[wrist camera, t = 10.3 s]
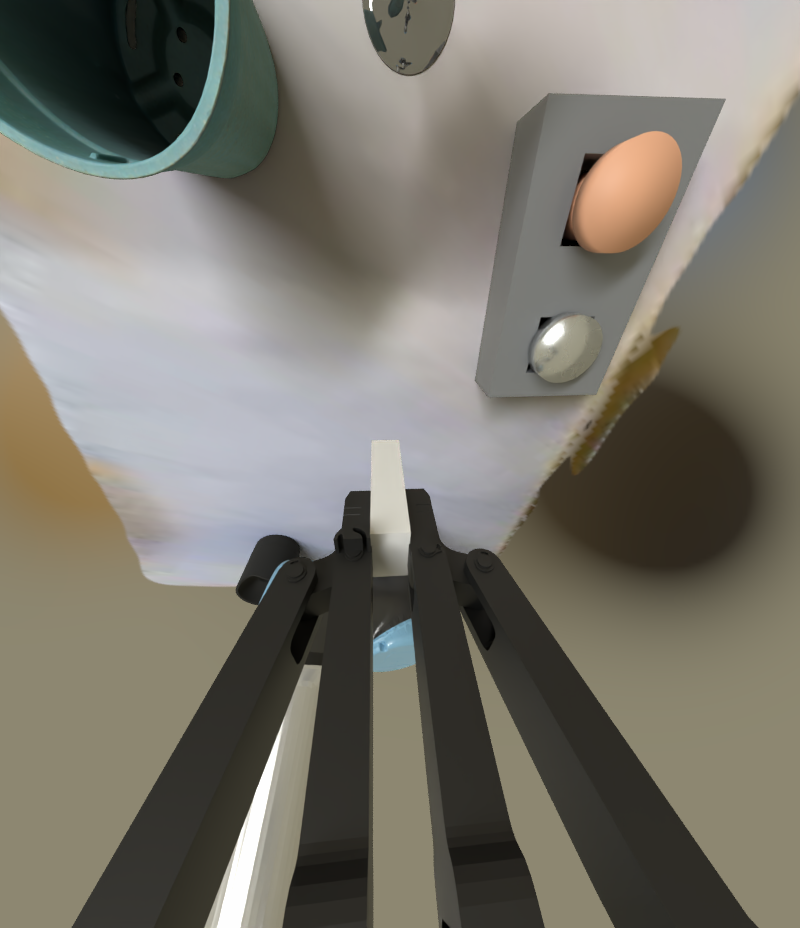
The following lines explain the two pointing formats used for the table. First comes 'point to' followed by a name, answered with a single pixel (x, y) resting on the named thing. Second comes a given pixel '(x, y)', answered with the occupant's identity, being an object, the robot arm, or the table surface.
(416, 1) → the wine glass
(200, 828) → the robot arm
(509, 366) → the press console
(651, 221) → the peach rounded piece
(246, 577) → the pen holder
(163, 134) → the flower pot
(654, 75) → the table surface
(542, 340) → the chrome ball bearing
